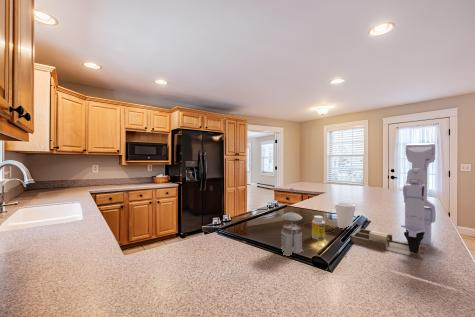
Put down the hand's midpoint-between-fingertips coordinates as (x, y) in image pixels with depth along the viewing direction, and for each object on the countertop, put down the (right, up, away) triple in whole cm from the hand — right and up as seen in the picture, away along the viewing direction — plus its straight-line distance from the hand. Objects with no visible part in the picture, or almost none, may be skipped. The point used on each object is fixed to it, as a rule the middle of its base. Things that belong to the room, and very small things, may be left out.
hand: (414, 251), depth 81 cm
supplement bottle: (-30, -2, +17) cm, 35 cm away
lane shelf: (-4, -2, +9) cm, 10 cm away
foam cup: (-11, -2, +31) cm, 33 cm away
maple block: (-5, -1, +5) cm, 7 cm away
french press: (-46, -2, +2) cm, 46 cm away
